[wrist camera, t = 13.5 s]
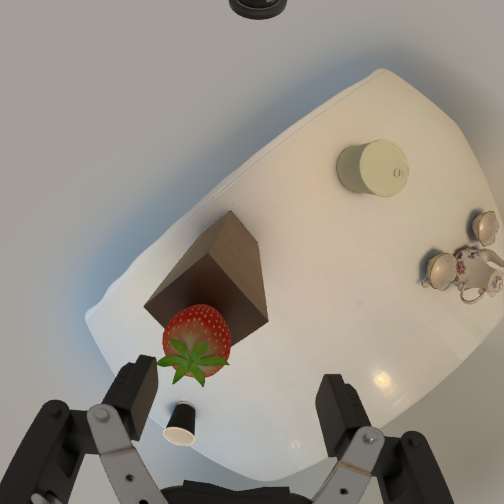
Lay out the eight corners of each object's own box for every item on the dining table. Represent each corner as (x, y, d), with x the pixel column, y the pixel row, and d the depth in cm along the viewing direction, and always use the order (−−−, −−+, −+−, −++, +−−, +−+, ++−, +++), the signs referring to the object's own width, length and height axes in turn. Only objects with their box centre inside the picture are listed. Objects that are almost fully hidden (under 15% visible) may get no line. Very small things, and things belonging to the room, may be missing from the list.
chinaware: (475, 196, 52) (518, 198, 35) (496, 246, 54) (536, 258, 37) (406, 268, 56) (445, 289, 40) (433, 316, 58) (469, 344, 42)
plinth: (230, 210, 51) (207, 252, 22) (258, 243, 53) (269, 321, 24) (198, 236, 52) (143, 306, 23) (225, 268, 54) (202, 365, 25)
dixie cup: (203, 416, 65) (198, 446, 54) (176, 416, 65) (168, 445, 55) (196, 397, 63) (190, 428, 52) (167, 397, 63) (158, 427, 52)
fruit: (232, 343, 24) (227, 405, 17) (176, 337, 24) (153, 396, 17) (236, 289, 23) (230, 342, 15) (174, 284, 23) (143, 333, 15)
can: (374, 197, 51) (404, 203, 39) (332, 186, 50) (355, 189, 39) (382, 153, 48) (414, 149, 37) (341, 140, 48) (365, 131, 36)
